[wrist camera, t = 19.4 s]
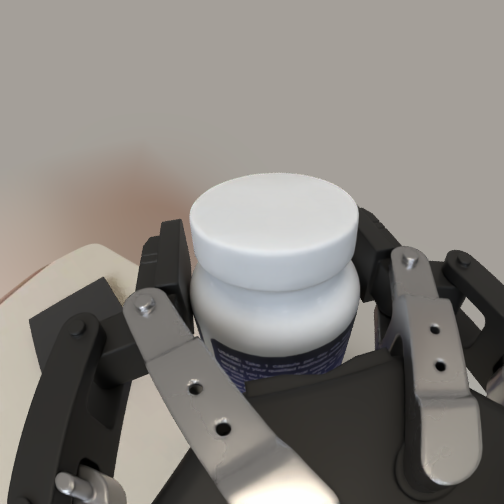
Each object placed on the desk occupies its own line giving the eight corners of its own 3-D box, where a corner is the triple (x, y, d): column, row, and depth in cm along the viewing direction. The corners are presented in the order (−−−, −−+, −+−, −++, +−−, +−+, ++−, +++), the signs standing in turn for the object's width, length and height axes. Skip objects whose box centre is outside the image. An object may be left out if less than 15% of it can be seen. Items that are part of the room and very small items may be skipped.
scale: (107, 284, 36) (99, 266, 34) (160, 364, 26) (151, 346, 25) (33, 326, 30) (22, 310, 28) (63, 422, 20) (46, 408, 19)
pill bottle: (353, 378, 14) (410, 202, 8) (274, 457, 11) (279, 317, 5) (273, 322, 17) (271, 153, 11) (195, 380, 14) (134, 207, 8)
